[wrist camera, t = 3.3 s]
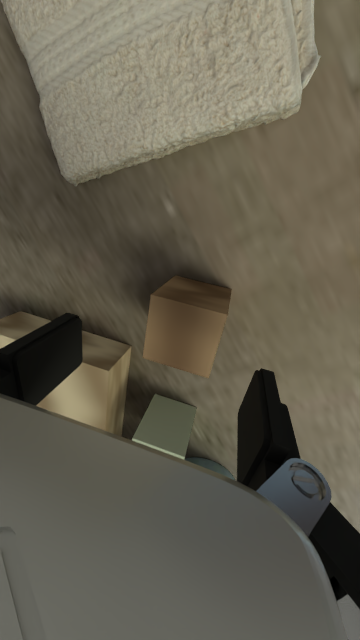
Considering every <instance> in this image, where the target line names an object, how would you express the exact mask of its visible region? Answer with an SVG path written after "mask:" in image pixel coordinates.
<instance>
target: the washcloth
mask: <svg viewBox="0 0 360 640" xmlns="http://www.w3.org/2000/svg"><path fill="white" fill-rule="evenodd" d="M1 2H2V5H3V7H4V12H5V14H6V15H7V17H8V21H9V24H10V26H11V28H12V31H13V33H14V35H15V37H16V41H17V43H18V45H19V47H20V50H21V52H22V54H23V55H24V57H25V58H26V60H27V64H28V66H29V70H30V73H31V76H32V79H33V81H34V84H35V87H36V89H37V91H38V93H39V95H40V101H41V102H40V105H39V108H40V111H41V113H42V118H43V119H44V121H45V126H46V131H47V135H48V137H49V139H50V141H51V144H52V149H53V150H54V154H55V157H56V159H57V162H58V166H59V169H60V172H61V174H62V175H63V177H64V178H65V180H66V181H68V182H69V183H71V184H74V185H75V186H77V185H78V183H84V182H87V181H88V180H91V179H95V178H98V179H100V177H101V176H103V175H104V174H108V175H110V174H111V173H113V172H114V171H118V170H119V169H123V168H126V167H132V165H135V166H136V165H137V164H139V163H146V162H148V161H149V160H151V159H159V158H161V157H162V158H163V157H164V156H165V155H170V154H171V153H173V152H177V151H179V150H180V149H183V148H184V147H187V146H192V145H195V144H197V143H204V142H205V141H206V140H208V139H211V138H215V137H219V136H225V135H228V134H229V133H230V132H233V131H240V130H244V129H246V128H248V127H250V128H252V127H254V126H258V125H260V124H262V123H265V125H266V124H267V123H270V122H272V121H274V120H278V119H286V118H288V117H289V116H291V115H293V114H296V113H298V111H299V109H300V104H301V98H302V89H303V88H305V86H306V85H307V84H308V82H309V80H310V78H311V76H312V75H313V73H314V71H315V69H316V67H317V65H318V62H319V59H320V57H321V56H319V55H318V50H317V48H316V44H315V40H314V0H1Z"/></svg>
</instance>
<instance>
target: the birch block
mask: <svg viewBox="0 0 360 640" xmlns="http://www.w3.org/2000/svg"><path fill="white" fill-rule="evenodd" d="M49 322H51V321H50V320H47V319H44V318H41V317H38V316H34V315H31V314H28V313H25V312H22V311H20V312H17V313H15V314H12V315H10V316H7V317H4V318H2V319H0V349H1V348H3V347H4V346H6V345H8V344H10V343H12V342H14V341H15V340H17V339H19V338H21V337H23V336H25V335H27V334H28V333H30V332H32V331H34V330H36V329H38V328H40V327H41V326H43V325H45V324H47V323H49ZM131 347H132V346H130V345H127V344H124V343H120V342H117V341H114V340H111V339H108V338H105V337H101V336H98V335H95V334H92V333H89V332H85V331H82V351H83V361H82V363H81V365H80V366H79V367H78V368H77V369H76V370H75V371H74V372H72V373H71V374H70V375H69V376H68V377H67V378H66V379H65V380H64V381H63V382H62V383H60V384H59V385H58V386H57V387H56V388H55V389H54V390H53V391H52V392H51V393H49V394H48V395H47V396H46V397H45V398H44V399H43V400H42V401H41V402H40V403H39V404H37V405H36V406H38V407H40V408H43V409H46V410H49V411H52V412H55V413H57V414H60V415H63V416H66V417H69V418H71V419H74V420H77V421H80V422H82V423H85V424H88V425H91V426H94V427H96V428H99V429H102V430H105V431H107V432H110V433H113V434H116V435H118V436H121V437H122V428H123V419H124V410H125V401H126V392H127V383H128V374H129V365H130V356H131Z"/></svg>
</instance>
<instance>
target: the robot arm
mask: <svg viewBox="0 0 360 640" xmlns="http://www.w3.org/2000/svg"><path fill="white" fill-rule="evenodd" d="M82 361H83V351H82V321H81V319H80V318H79V316H77V315H74V314H70V313H66V314H64V315H62V316H60V317H58V318H56V319H54V320H53V321H51V322H49V323H47V324H45V325H43V326H41V327H40V328H38V329H36V330H34V331H32V332H30V333H28V334H27V335H25V336H23V337H21V338H19V339H17V340H15V341H14V342H12V343H10V344H8V345H6V346H4V347H3V348H1V349H0V640H360V534H359V532H358V531H357V530H356V529H355V528H354V527H353V526H352V525H351V524H350V523H349V522H348V521H347V520H346V519H345V518H344V517H343V515H342V514H341V513H340V512H339V511H338V510H337V509H336V508H335V507H334V506H333V505H332V504H331V503H330V501H331V497H332V496H331V489H330V487H329V485H328V482H327V481H326V479H325V478H324V476H323V475H322V474H321V473H320V472H319V470H318V469H317V468H315V467H314V466H313V465H311V464H310V463H308V462H307V461H305V460H302V459H300V455H299V451H298V447H297V443H296V439H295V435H294V431H293V427H292V423H291V419H290V415H289V411H288V408H287V406H286V405H285V404H282V403H281V402H280V398H279V393H278V389H277V384H276V380H275V375H274V372H272V371H269V370H265V369H262V368H261V369H260V371H258V370H256V371H255V373H254V375H253V377H252V380H251V382H250V385H249V387H248V390H247V392H246V394H245V397H244V399H243V402H242V404H241V406H240V409H239V412H238V451H237V481H235V480H233V479H231V478H228V477H226V476H224V475H222V474H219V473H217V472H214V471H212V470H209V469H207V468H204V467H201V466H199V465H196V464H194V463H191V462H189V461H186V460H183V459H181V458H178V457H175V456H173V455H170V454H167V453H165V452H162V451H159V450H156V449H154V448H151V447H148V446H146V445H143V444H140V443H137V442H135V441H132V440H129V439H127V438H124V437H121V436H118V435H116V434H113V433H110V432H107V431H105V430H102V429H99V428H96V427H94V426H91V425H88V424H85V423H82V422H80V421H77V420H74V419H71V418H69V417H66V416H63V415H60V414H57V413H55V412H52V411H49V410H46V409H43V408H40V407H38V406H36V405H37V404H39V403H40V402H41V401H42V400H43V399H44V398H45V397H46V396H47V395H48V394H49V393H51V392H52V391H53V390H54V389H55V388H56V387H57V386H58V385H59V384H60V383H62V382H63V381H64V380H65V379H66V378H67V377H68V376H69V375H70V374H71V373H72V372H74V371H75V370H76V369H77V368H78V367H79V366H80V365H81V363H82Z"/></svg>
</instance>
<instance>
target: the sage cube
mask: <svg viewBox="0 0 360 640" xmlns="http://www.w3.org/2000/svg"><path fill="white" fill-rule="evenodd" d="M196 409H197V407H194V406H191V405H188V404H185V403H182V402H179V401H175V400H172V399H169V398H166V397H163V396H160V395H157V394H155V395H154V397H153V398H152V400H151V402H150V404H149V406H148V408H147V410H146V412H145V414H144V416H143V418H142V420H141V422H140V424H139V426H138V428H137V430H136V432H135V434H134V436H133V438H132V441H135V442H137V443H140V444H143V445H146V446H148V447H151V448H154V449H156V450H159V451H162V452H165V453H167V454H170V455H173V456H175V457H178V458H181V459H183V460H184V459H185V455H186V451H187V447H188V442H189V438H190V434H191V430H192V426H193V422H194V417H195V413H196Z"/></svg>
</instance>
